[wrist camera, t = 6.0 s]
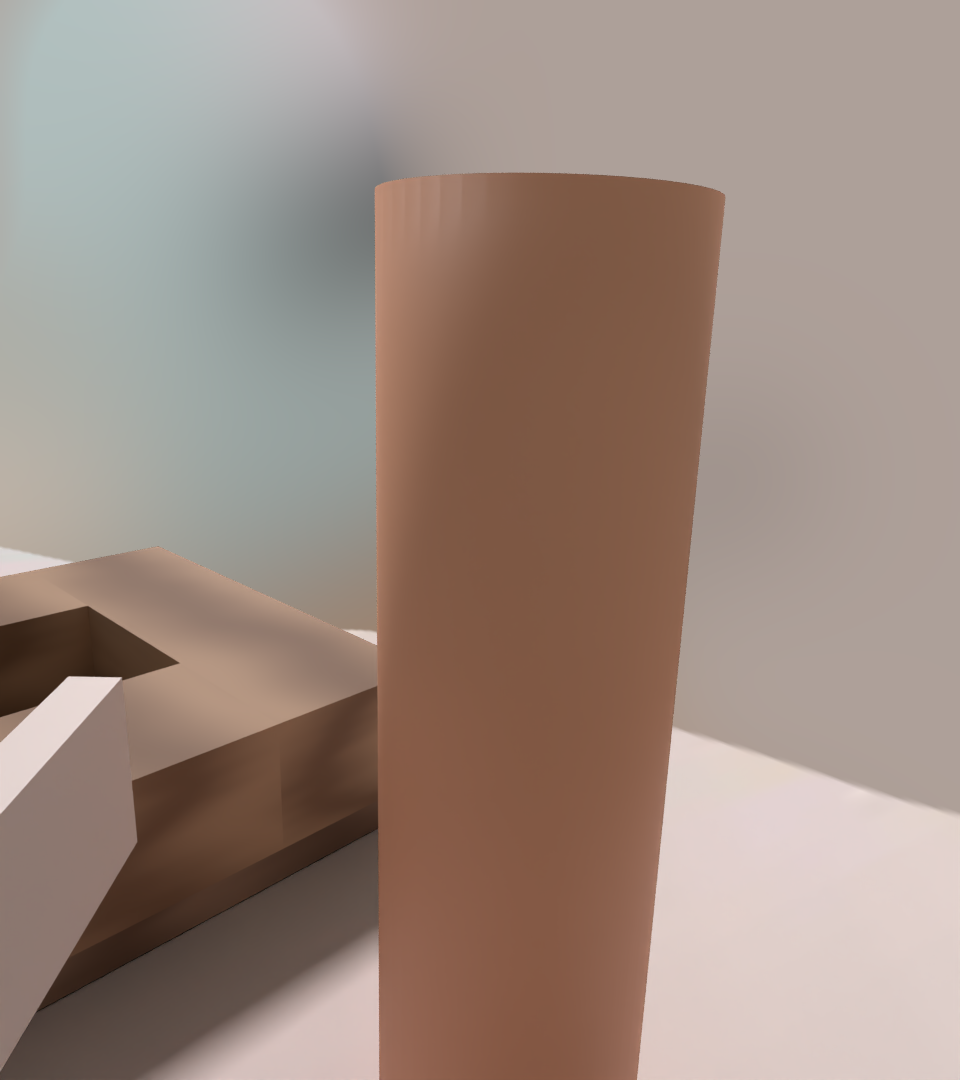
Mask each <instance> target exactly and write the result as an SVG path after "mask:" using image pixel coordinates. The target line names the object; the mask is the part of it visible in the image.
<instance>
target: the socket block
mask: <svg viewBox="0 0 960 1080" xmlns="http://www.w3.org/2000/svg"><path fill="white" fill-rule="evenodd" d="M69 676H70V677H121V678H122V683H123V694H124V704H125V715H126V726H127V736H128V747H129V758H130V768H131V779H132V790H133V800H134V811H135V821H136V832H137V843H136V845H135V847H134V848H133V850H132V852H131V853H130V855H129V857H128V858H127V860H126V862H125V863H124V865H123V867H122V868H121V870H120V872H119V873H118V875H117V877H116V878H115V880H114V882H113V883H112V885H111V887H110V888H109V890H108V892H107V894H106V895H105V897H104V899H103V900H102V902H101V904H100V905H99V907H98V909H97V910H96V912H95V914H94V915H93V917H92V919H91V920H90V922H89V924H88V925H87V927H86V929H85V930H84V932H83V934H82V935H81V937H80V939H79V940H78V942H77V944H76V946H75V947H74V949H73V951H72V952H71V954H70V956H69V957H68V959H67V961H66V962H65V964H64V966H63V967H62V969H61V971H60V972H59V974H58V976H57V977H56V979H55V981H54V982H53V984H52V986H51V987H50V989H49V991H48V992H47V994H46V996H45V998H44V999H43V1001H42V1003H41V1004H40V1006H39V1008H38V1009H37V1011H38V1010H40V1009H42V1008H44V1007H46V1006H48V1005H49V1004H51V1003H53V1002H55V1001H57V1000H59V999H61V998H62V997H64V996H66V995H68V994H70V993H72V992H74V991H75V990H77V989H79V988H81V987H83V986H85V985H87V984H88V983H90V982H92V981H94V980H96V979H98V978H100V977H102V976H103V975H105V974H107V973H109V972H111V971H113V970H115V969H116V968H118V967H120V966H122V965H124V964H126V963H128V962H129V961H131V960H133V959H135V958H137V957H139V956H141V955H142V954H144V953H146V952H148V951H150V950H152V949H154V948H155V947H157V946H159V945H161V944H163V943H165V942H167V941H168V940H170V939H172V938H174V937H176V936H178V935H180V934H182V933H183V932H185V931H187V930H189V929H191V928H193V927H195V926H196V925H198V924H200V923H202V922H204V921H206V920H208V919H209V918H211V917H213V916H215V915H217V914H219V913H221V912H222V911H224V910H226V909H228V908H230V907H232V906H234V905H235V904H237V903H239V902H241V901H243V900H245V899H247V898H248V897H250V896H252V895H254V894H256V893H258V892H260V891H262V890H263V889H265V888H267V887H269V886H271V885H273V884H275V883H276V882H278V881H280V880H282V879H284V878H286V877H288V876H289V875H291V874H293V873H295V872H297V871H299V870H301V869H302V868H304V867H306V866H308V865H310V864H312V863H314V862H315V861H317V860H319V859H321V858H323V857H325V856H327V855H328V854H330V853H332V852H334V851H336V850H338V849H340V848H341V847H343V846H345V845H347V844H349V843H351V842H353V841H355V840H356V839H358V838H360V837H362V836H364V835H366V834H368V833H369V832H371V831H373V830H375V829H377V828H378V695H377V645H375V644H372V643H370V642H368V641H366V640H364V639H361V638H359V637H357V636H355V635H353V634H350V633H348V632H346V631H344V630H341V629H339V628H337V627H335V626H333V625H330V624H328V623H326V622H324V621H321V620H319V619H317V618H315V617H313V616H310V615H308V614H306V613H304V612H302V611H300V610H297V609H295V608H293V607H291V606H289V605H286V604H284V603H282V602H280V601H278V600H275V599H273V598H271V597H269V596H267V595H264V594H262V593H260V592H258V591H255V590H253V589H251V588H249V587H247V586H244V585H242V584H240V583H238V582H236V581H234V580H231V579H229V578H227V577H225V576H223V575H220V574H218V573H216V572H214V571H211V570H209V569H207V568H205V567H203V566H201V565H198V564H196V563H194V562H192V561H189V560H187V559H185V558H183V557H181V556H178V555H176V554H174V553H171V552H170V551H168V550H165V549H163V548H161V547H159V546H157V547H152V548H147V549H142V550H137V551H132V552H127V553H122V554H116V555H111V556H106V557H101V558H96V559H90V560H85V561H80V562H76V563H70V564H65V565H60V566H55V567H49V568H44V569H39V570H34V571H29V572H24V573H19V574H14V575H8V576H3V577H0V742H1V741H3V740H4V739H5V738H6V737H7V736H8V735H9V734H10V733H11V732H12V731H13V730H14V729H15V728H16V727H17V726H18V725H19V724H20V723H21V722H22V721H23V720H24V719H25V718H26V717H27V716H28V715H29V714H30V713H31V712H32V711H33V710H34V709H36V708H37V707H38V706H39V705H40V704H41V703H42V702H43V701H44V700H45V699H46V698H47V697H48V696H49V695H50V694H51V693H52V692H53V691H54V690H55V689H56V688H57V687H58V686H59V685H60V684H61V683H62V682H63V681H64V680H65V679H66V678H67V677H69Z"/></svg>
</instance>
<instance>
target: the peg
mask: <svg viewBox="0 0 960 1080" xmlns="http://www.w3.org/2000/svg"><path fill="white" fill-rule="evenodd" d="M724 205H725V195H724V194H723V193H721V192H720V191H717V190H714V189H711V188H707V187H702V186H698V185H693V184H687V183H680V182H673V181H665V180H656V179H647V178H634V177H623V176H607V175H589V174H561V173H475V174H452V175H436V176H423V177H414V178H406V179H400V180H394V181H390V182H386V183H382V184H380V185H378V186H377V187H376V188H375V295H376V296H375V297H376V299H375V302H376V303H375V305H376V484H377V485H376V488H377V489H376V491H377V494H376V497H377V498H376V500H377V695H378V889H379V1080H637V1073H638V1063H639V1053H640V1043H641V1033H642V1023H643V1013H644V1003H645V993H646V983H647V973H648V963H649V953H650V943H651V933H652V923H653V913H654V903H655V893H656V883H657V873H658V863H659V853H660V843H661V834H662V824H663V814H664V804H665V794H666V784H667V774H668V764H669V754H670V744H671V734H672V723H673V714H674V704H675V694H676V684H677V674H678V663H679V654H680V643H681V634H682V624H683V614H684V604H685V594H686V583H687V574H688V565H689V564H688V563H689V554H690V544H691V535H692V524H693V514H694V505H695V494H696V484H697V474H698V465H699V455H700V445H701V435H702V424H703V415H704V405H705V394H706V385H707V375H708V365H709V354H710V345H711V335H712V325H713V315H714V306H715V295H716V286H717V275H718V266H719V255H720V245H721V235H722V226H723V216H724Z"/></svg>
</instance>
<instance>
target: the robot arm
mask: <svg viewBox="0 0 960 1080" xmlns="http://www.w3.org/2000/svg"><path fill="white" fill-rule="evenodd" d="M136 843H137V832H136V821H135V811H134V800H133V790H132V779H131V768H130V758H129V747H128V736H127V726H126V715H125V704H124V694H123V683H122V678H121V677H70V676H69V677H67V678H66V679H65V680H64V681H63V682H62V683H61V684H60V685H59V686H58V687H57V688H56V689H55V690H54V691H53V692H52V693H51V694H50V695H49V696H48V697H47V698H46V699H45V700H44V701H43V702H42V703H41V704H40V705H39V706H38V707H37V708H36V709H34V710H33V711H32V712H31V713H30V714H29V715H28V716H27V717H26V718H25V719H24V720H23V721H22V722H21V723H20V724H19V725H18V726H17V727H16V728H15V729H14V730H13V731H12V732H11V733H10V734H9V735H8V736H7V737H6V738H5V739H4V740H3V741H1V742H0V1071H1V1070H2V1068H3V1066H4V1065H5V1063H6V1061H7V1060H8V1058H9V1056H10V1055H11V1053H12V1051H13V1050H14V1048H15V1046H16V1044H17V1043H18V1041H19V1039H20V1038H21V1036H22V1034H23V1033H24V1031H25V1029H26V1028H27V1026H28V1024H29V1023H30V1021H31V1019H32V1018H33V1016H34V1014H35V1013H36V1011H37V1009H38V1008H39V1006H40V1004H41V1003H42V1001H43V999H44V998H45V996H46V994H47V992H48V991H49V989H50V987H51V986H52V984H53V982H54V981H55V979H56V977H57V976H58V974H59V972H60V971H61V969H62V967H63V966H64V964H65V962H66V961H67V959H68V957H69V956H70V954H71V952H72V951H73V949H74V947H75V946H76V944H77V942H78V940H79V939H80V937H81V935H82V934H83V932H84V930H85V929H86V927H87V925H88V924H89V922H90V920H91V919H92V917H93V915H94V914H95V912H96V910H97V909H98V907H99V905H100V904H101V902H102V900H103V899H104V897H105V895H106V894H107V892H108V890H109V888H110V887H111V885H112V883H113V882H114V880H115V878H116V877H117V875H118V873H119V872H120V870H121V868H122V867H123V865H124V863H125V862H126V860H127V858H128V857H129V855H130V853H131V852H132V850H133V848H134V847H135V845H136Z"/></svg>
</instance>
